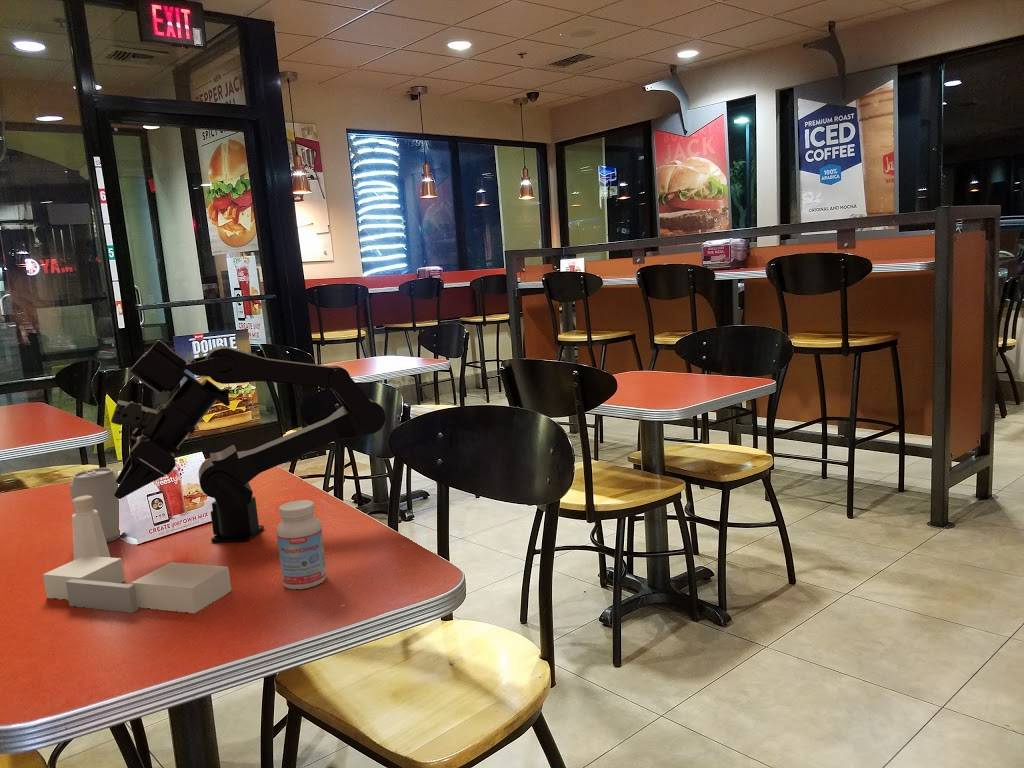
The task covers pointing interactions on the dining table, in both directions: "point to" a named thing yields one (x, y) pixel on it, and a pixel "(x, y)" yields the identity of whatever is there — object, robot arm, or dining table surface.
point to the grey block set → (137, 585)
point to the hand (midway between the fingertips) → (117, 490)
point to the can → (100, 497)
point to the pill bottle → (300, 545)
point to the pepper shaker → (87, 530)
